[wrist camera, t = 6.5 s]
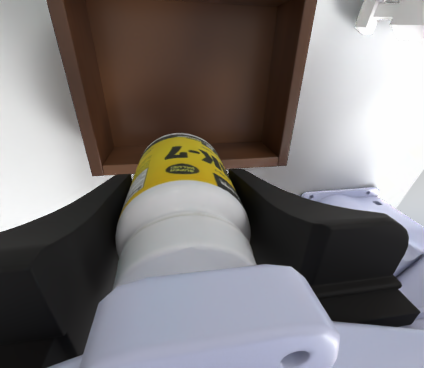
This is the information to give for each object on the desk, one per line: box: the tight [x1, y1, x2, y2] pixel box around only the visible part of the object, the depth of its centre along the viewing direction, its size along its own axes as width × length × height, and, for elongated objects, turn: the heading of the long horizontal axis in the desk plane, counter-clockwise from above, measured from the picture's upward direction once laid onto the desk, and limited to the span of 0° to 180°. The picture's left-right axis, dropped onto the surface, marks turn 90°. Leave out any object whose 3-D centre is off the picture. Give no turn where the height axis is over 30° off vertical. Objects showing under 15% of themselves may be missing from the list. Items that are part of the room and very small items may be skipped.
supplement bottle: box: [113, 133, 256, 290], centre depth 10 cm, size 5×5×8 cm
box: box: [46, 0, 317, 176], centre depth 16 cm, size 15×12×4 cm
